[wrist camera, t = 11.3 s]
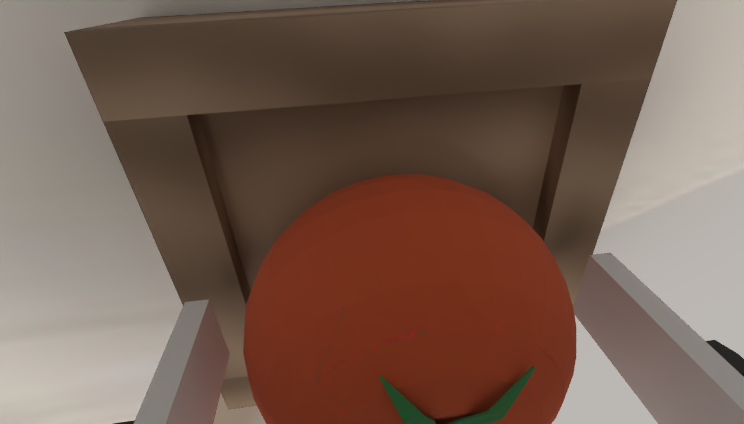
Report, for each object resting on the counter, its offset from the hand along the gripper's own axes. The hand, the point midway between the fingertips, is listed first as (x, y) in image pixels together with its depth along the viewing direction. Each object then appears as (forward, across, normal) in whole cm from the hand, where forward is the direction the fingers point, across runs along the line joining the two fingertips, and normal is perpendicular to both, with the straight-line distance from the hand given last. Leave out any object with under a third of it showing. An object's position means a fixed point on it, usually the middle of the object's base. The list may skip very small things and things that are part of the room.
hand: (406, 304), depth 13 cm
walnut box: (+8, 0, 0) cm, 8 cm away
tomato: (+4, 0, 0) cm, 4 cm away
